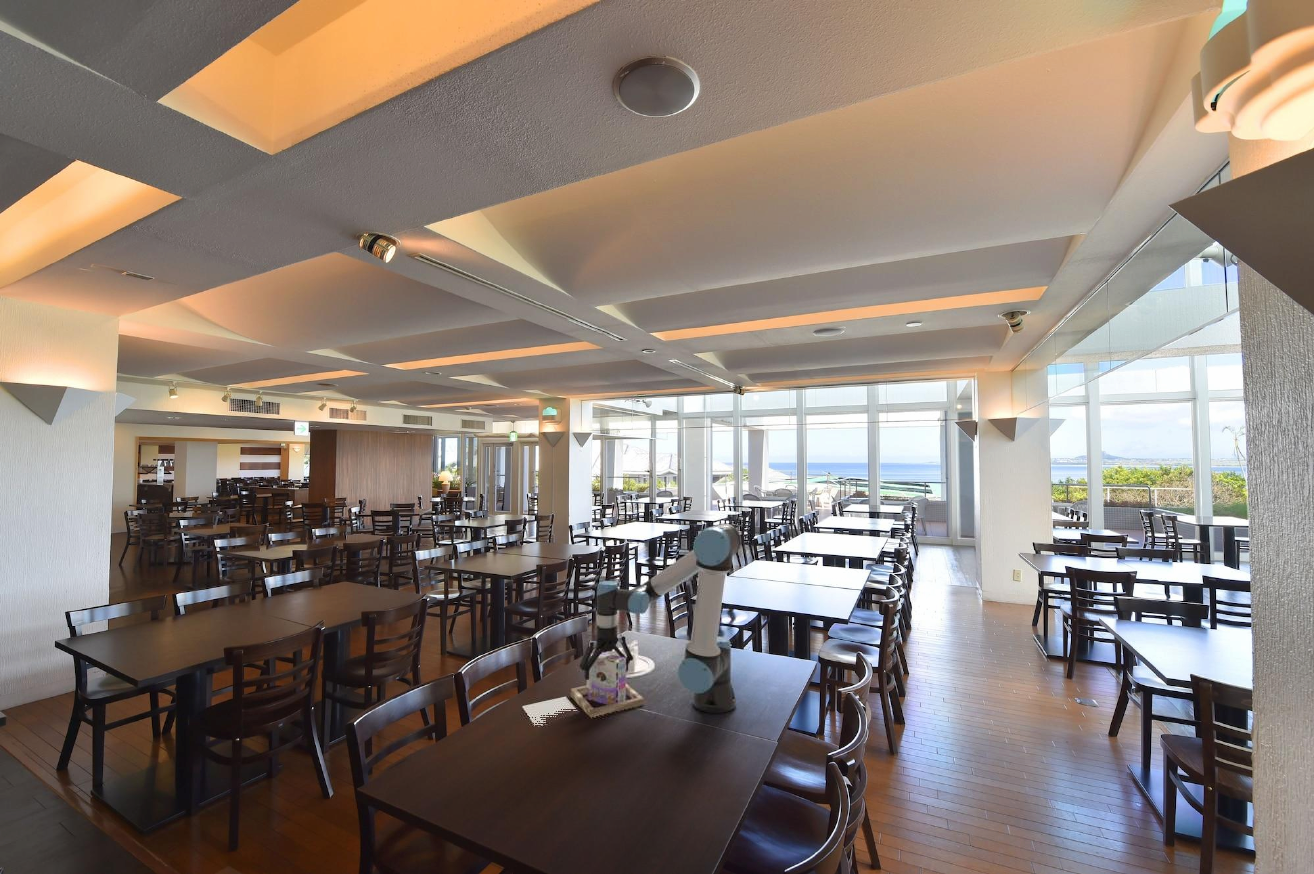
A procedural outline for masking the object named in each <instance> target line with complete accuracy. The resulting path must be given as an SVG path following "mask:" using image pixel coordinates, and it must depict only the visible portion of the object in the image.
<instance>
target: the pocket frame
mask: <svg viewBox="0 0 1314 874" xmlns="http://www.w3.org/2000/svg"><path fill="white" fill-rule="evenodd" d="M584 696H588V688H587V684H586V685H582V686H577V687H574V688H573V687H572V688H570V698H572V699H573V700H574V701H575V702H576V704H577V705H578V706H579V707H580V708H581V709H582V710H583V712H585V713H586V714H587V716H588V717H589V718H590V717H591V718H590V719H593V718H592V717H594V718H597V717H596V716H598V717H600V716H599V715H602V716H605V715H604V714H606V713H610V714H613V713H612V712H614V713H616V712H615V711H618V712H621V710H622V711H625V710H624V709H626V710H629V708H630V709H633V708H632V707H634V708H637V707H641V705H642V706H644V705H645V699H644V697H643V696H642V695H640V694H639V693H638V692H637V691H636V690H635V689H633V688H632V687H631V686H630V685H629V684H628V683H626V697H627V696H628V697H629V698H630V699H626V701H623V702H618V703H614V704H610V705H602V706H599V707H593V706H592V705H591V704H590V703H589V702H588V701H587V700H586V698H585V697H584ZM606 715H607V714H606Z"/></svg>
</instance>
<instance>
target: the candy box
mask: <svg viewBox="0 0 1314 874" xmlns="http://www.w3.org/2000/svg"><path fill="white" fill-rule="evenodd" d="M593 653H594V652H592V653H591V656H592V654H593ZM591 656H590V657H591ZM589 659H590V658H589ZM590 670H591V671H592V688H591V690H589V689H588V694H587V700H588V701H592V702H595V703H599V704H602V703H603V704H602V705H605V704H606V705H610V704H614V703H618V702H623V701H627V694H626V684H627V678H626V658H625V657H620V656H616V655H612V654H607V653H604V652H602V654H601V655H599V657H598V658H597V660H596V661H595V663H594V664H593V666H592V667H591V668H590ZM606 705H605V706H606Z"/></svg>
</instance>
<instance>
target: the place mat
mask: <svg viewBox="0 0 1314 874" xmlns="http://www.w3.org/2000/svg"><path fill="white" fill-rule="evenodd" d="M521 707H522V709H523V710H524V712H525V713H527V714H526V715H527V716H529V717H530V718H529V717H528V718H529V719H530V721H531V722H532V724H533V723H534V724H533V726H535V725H541V726H544V725H543V724H538V723H546V722H543V721H546V720H541V719H546V718H540V717H549V716H546V715H558V714H554V713H562V712H558V711H571V710H563V709H577V708H576V707H575V706H574V704H573V703H572V702H571V701H570V700H569V699H568V698H567V696H562V697H559V698H553V699H548V700H544V701H539V702H535V703H531V704H527V705H523V706H521ZM561 709H562V710H561ZM556 711H557V712H556ZM573 711H578V709H577V710H573ZM548 713H549V714H548ZM563 713H564V712H563ZM541 715H542V716H541ZM543 715H545V716H543ZM532 717H533V718H532ZM535 717H536V718H535ZM550 717H552V716H550ZM553 717H554V716H553ZM555 717H556V716H555ZM535 719H536V720H535ZM537 721H538V722H537ZM539 721H540V722H539ZM535 723H537V724H535Z"/></svg>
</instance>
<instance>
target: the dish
mask: <svg viewBox="0 0 1314 874" xmlns="http://www.w3.org/2000/svg"><path fill="white" fill-rule="evenodd" d="M638 644H639V643H638V640H633V641H632V642H631V643H629V644H627V646H628V648H629V650H630V652H631V655H632V657H633V660H632V661H630V663H629V664H628V671H627V672H626V679H633V678H638V677H639V678H640V677H643V676H646V675H647V674H650V673H651V672H653V671H654V670H655V666H656V664H655V661H653V660H652V659H650V658H649V657H647V656H643V655H639V645H638ZM618 649H619V650H620V651H621V652H622V653H623V654H624V656H625V657H627V655H626V653H625V651H624V649H623V647H622V646H621V647H618ZM603 653H607V654H612V655H616V656H619V655H618V654H617V653H616V652H615V650H614V649H613V650H612V651H607V652H603Z"/></svg>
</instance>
